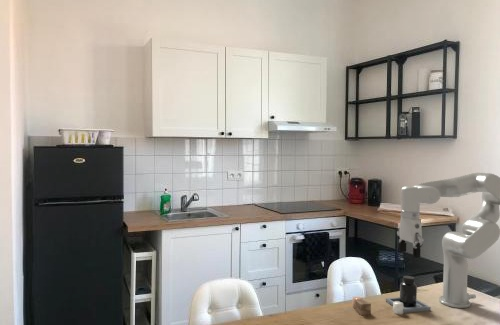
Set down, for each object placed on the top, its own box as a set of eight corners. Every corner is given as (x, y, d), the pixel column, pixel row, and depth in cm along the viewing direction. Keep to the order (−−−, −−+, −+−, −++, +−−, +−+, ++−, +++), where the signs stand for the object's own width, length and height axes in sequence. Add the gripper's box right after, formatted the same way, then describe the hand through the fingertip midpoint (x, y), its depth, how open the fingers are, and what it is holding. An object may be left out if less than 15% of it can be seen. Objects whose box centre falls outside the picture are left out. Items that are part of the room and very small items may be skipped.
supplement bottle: (417, 308, 172) (418, 280, 171) (400, 306, 173) (401, 279, 173) (414, 302, 178) (415, 275, 178) (398, 301, 180) (399, 274, 179)
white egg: (399, 310, 170) (399, 301, 170) (405, 314, 166) (405, 304, 166) (391, 311, 169) (391, 301, 169) (396, 314, 166) (396, 305, 166)
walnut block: (365, 310, 170) (365, 299, 170) (370, 314, 166) (370, 303, 166) (355, 311, 169) (355, 300, 169) (360, 315, 165) (360, 304, 165)
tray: (411, 299, 183) (411, 296, 183) (430, 310, 171) (430, 307, 171) (385, 301, 180) (385, 298, 180) (403, 312, 168) (403, 309, 168)
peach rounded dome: (359, 305, 175) (359, 296, 175) (364, 309, 171) (364, 299, 171) (351, 306, 174) (351, 297, 174) (355, 309, 170) (355, 300, 170)
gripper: (431, 218, 167) (430, 259, 168) (405, 212, 184) (405, 249, 184) (415, 218, 165) (414, 260, 166) (390, 212, 182) (390, 250, 183)
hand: (409, 254), depth 175 cm, fingers open, 9 cm apart
